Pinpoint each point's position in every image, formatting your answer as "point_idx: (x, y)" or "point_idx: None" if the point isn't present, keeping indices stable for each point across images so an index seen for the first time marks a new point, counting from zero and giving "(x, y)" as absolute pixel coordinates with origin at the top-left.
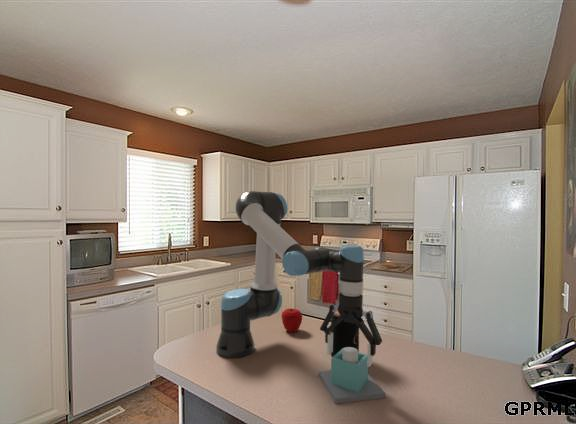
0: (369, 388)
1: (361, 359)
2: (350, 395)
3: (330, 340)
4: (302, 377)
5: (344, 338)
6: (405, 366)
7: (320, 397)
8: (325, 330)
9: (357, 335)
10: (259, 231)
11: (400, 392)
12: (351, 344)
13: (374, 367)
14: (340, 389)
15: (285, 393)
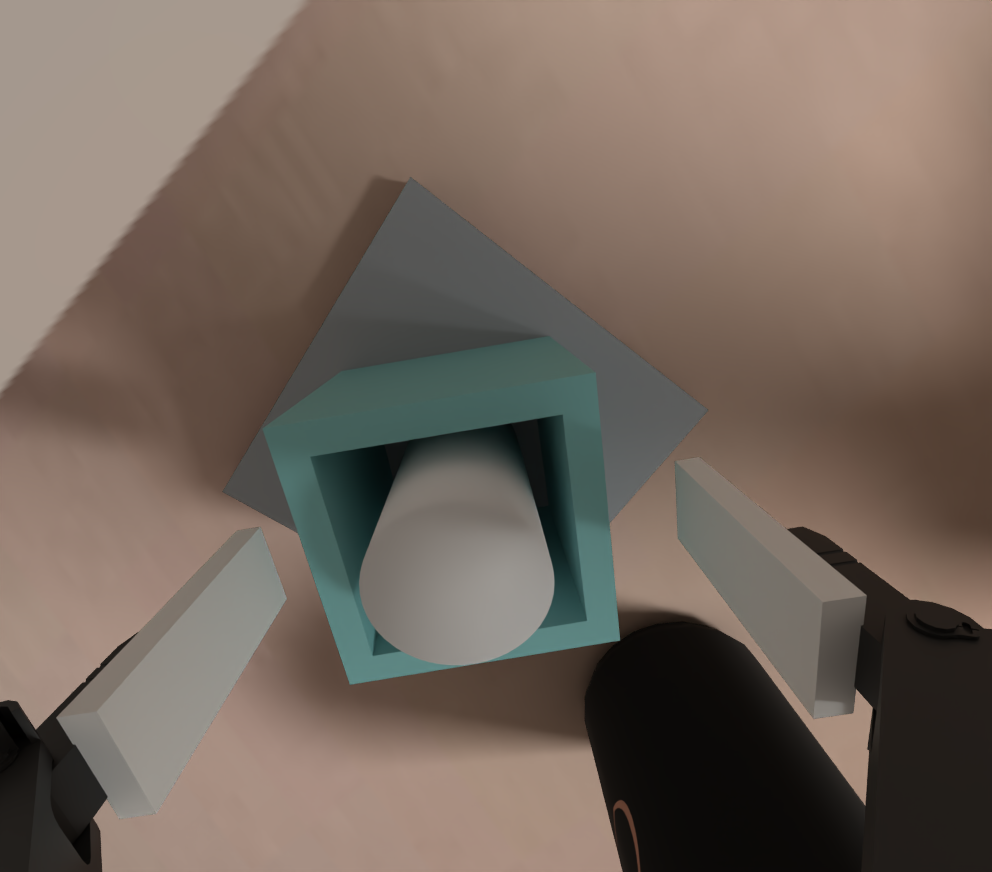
0: None
1: (335, 569)
2: (357, 298)
3: (757, 568)
4: (778, 304)
5: (706, 798)
6: (351, 808)
7: (537, 176)
8: (989, 643)
9: None
10: None
11: None
12: (635, 776)
13: (470, 704)
14: (453, 314)
15: (778, 9)
